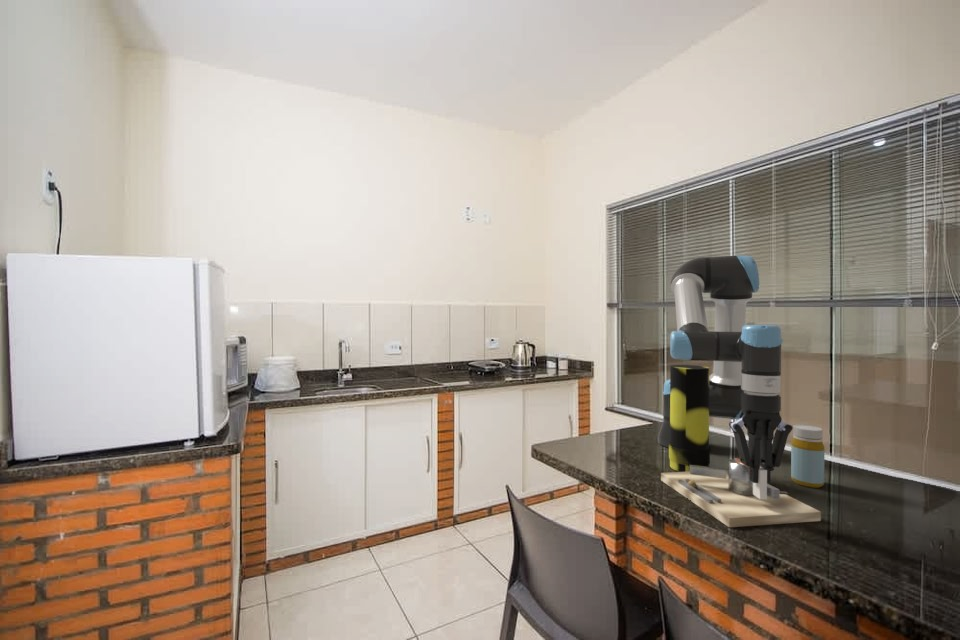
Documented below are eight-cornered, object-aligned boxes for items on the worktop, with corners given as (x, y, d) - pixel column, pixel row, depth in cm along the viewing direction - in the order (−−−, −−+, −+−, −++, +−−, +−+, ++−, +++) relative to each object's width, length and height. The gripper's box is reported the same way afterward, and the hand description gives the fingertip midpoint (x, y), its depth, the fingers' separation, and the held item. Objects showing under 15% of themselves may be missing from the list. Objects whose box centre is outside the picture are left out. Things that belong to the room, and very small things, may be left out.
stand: (660, 480, 115) (660, 466, 115) (737, 476, 118) (737, 462, 118) (729, 527, 90) (729, 509, 90) (824, 520, 93) (824, 503, 93)
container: (660, 464, 127) (661, 365, 127) (689, 460, 131) (689, 364, 131) (688, 477, 117) (689, 369, 117) (718, 473, 121) (719, 368, 120)
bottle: (830, 489, 109) (830, 431, 109) (799, 487, 111) (800, 430, 111) (814, 479, 116) (815, 424, 116) (786, 477, 118) (786, 423, 117)
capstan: (687, 481, 109) (687, 452, 109) (756, 477, 112) (756, 449, 111) (735, 511, 92) (736, 478, 92) (816, 506, 95) (816, 473, 95)
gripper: (740, 395, 92) (739, 503, 92) (802, 396, 91) (801, 504, 92) (722, 389, 100) (721, 489, 100) (779, 390, 99) (778, 490, 99)
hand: (759, 496), depth 96 cm, fingers closed
